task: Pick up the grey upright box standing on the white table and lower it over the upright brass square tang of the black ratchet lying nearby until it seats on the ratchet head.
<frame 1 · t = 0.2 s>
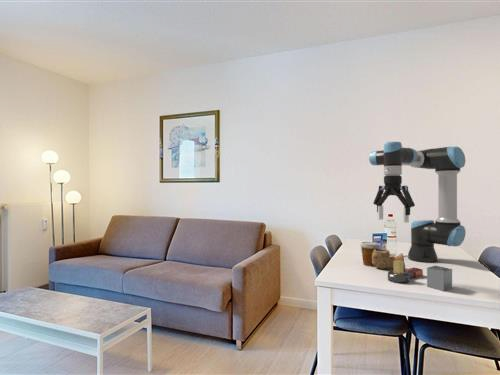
hand: (392, 220, 140), 27 cm above the table, fingers open, 13 cm apart
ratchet: (398, 280, 139), on the table
disposable coffee cup: (369, 265, 167), on the table, touching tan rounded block
grey upright box: (439, 287, 129), on the table
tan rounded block: (388, 269, 158), on the table, touching disposable coffee cup
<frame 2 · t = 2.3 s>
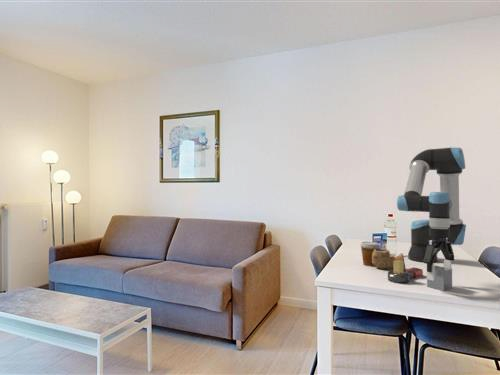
hand: (439, 277, 129), 4 cm above the table, fingers open, 13 cm apart
nothing on the table moved.
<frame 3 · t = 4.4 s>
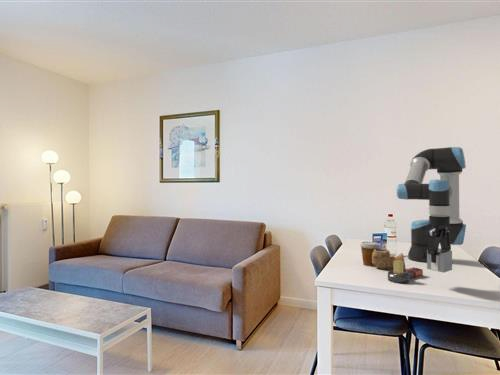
hand: (439, 268, 130), 8 cm above the table, fingers closed on grey upright box, 7 cm apart
disposable coffee cup: (369, 265, 167), on the table
grey upright box: (439, 269, 130), point 8 cm above the table, touching gripper
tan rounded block: (388, 269, 158), on the table
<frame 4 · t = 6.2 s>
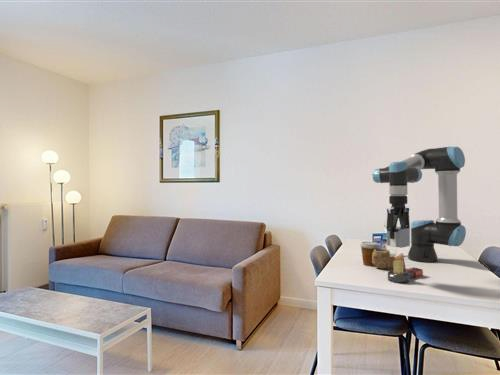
hand: (398, 244, 139), 16 cm above the table, fingers closed on grey upright box, 7 cm apart
disposable coffee cup: (369, 265, 167), on the table, touching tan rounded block
grey upright box: (398, 245, 139), point 16 cm above the table, touching gripper
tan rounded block: (388, 269, 158), on the table, touching disposable coffee cup
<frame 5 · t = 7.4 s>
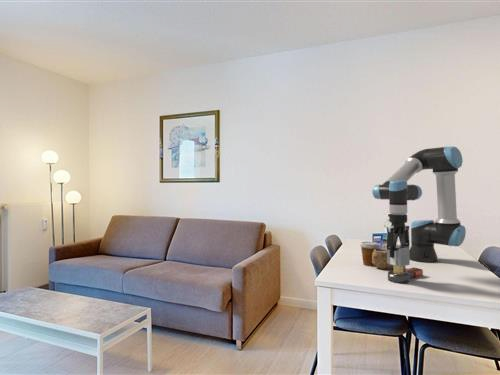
hand: (398, 263, 139), 8 cm above the table, fingers closed on grey upright box, 7 cm apart
grey upright box: (398, 264, 139), point 8 cm above the table, touching gripper
everything else where it was.
when the fingers open (5 cm above the table, at t = 8.3 s): grey upright box drops 2 cm, resting on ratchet.
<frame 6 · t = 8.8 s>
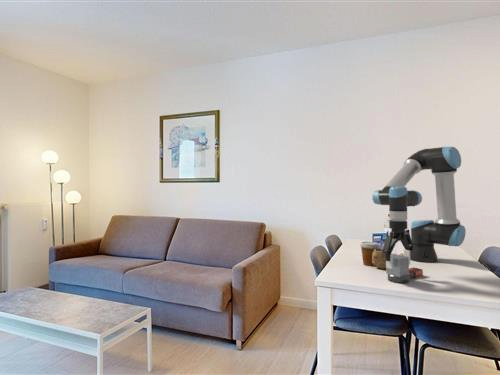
hand: (398, 266, 139), 7 cm above the table, fingers open, 13 cm apart
grey upright box: (397, 274, 139), point 3 cm above the table, touching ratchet
everything else where it was.
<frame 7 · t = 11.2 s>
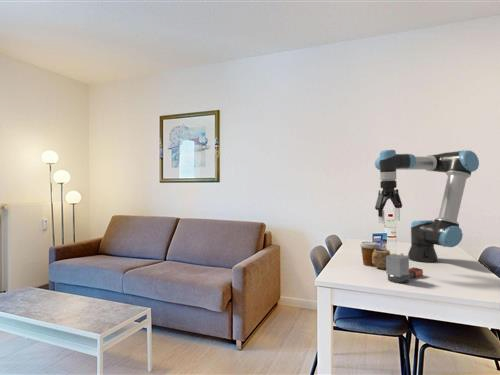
hand: (389, 221, 154), 25 cm above the table, fingers open, 13 cm apart
disposable coffee cup: (369, 265, 167), on the table
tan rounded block: (388, 269, 158), on the table
everything else where it was.
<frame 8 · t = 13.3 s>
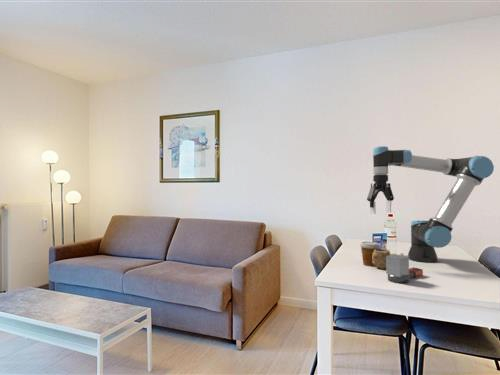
hand: (380, 212, 167), 29 cm above the table, fingers open, 13 cm apart
disposable coffee cup: (369, 265, 167), on the table, touching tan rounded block
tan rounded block: (388, 269, 158), on the table, touching disposable coffee cup
everything else where it was.
at the end: grey upright box 0.8 cm off-centre on the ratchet, point 3.0 cm above the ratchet's base; grey upright box tilted 0°; the gripper is holding nothing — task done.
